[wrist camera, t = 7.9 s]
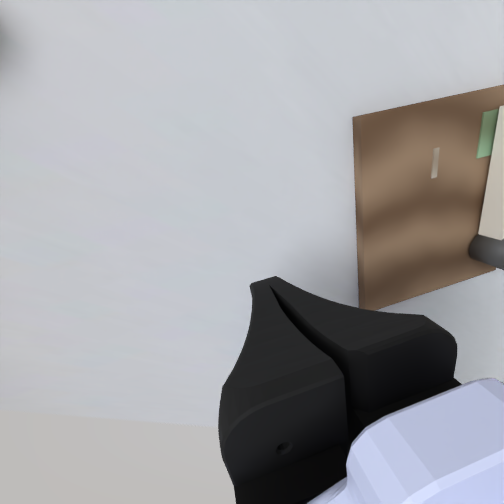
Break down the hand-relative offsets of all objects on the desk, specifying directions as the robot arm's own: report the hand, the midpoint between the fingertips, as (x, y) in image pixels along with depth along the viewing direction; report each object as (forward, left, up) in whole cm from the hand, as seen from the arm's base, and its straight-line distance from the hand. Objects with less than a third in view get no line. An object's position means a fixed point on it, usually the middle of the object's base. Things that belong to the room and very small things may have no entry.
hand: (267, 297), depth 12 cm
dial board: (-2, -19, -9) cm, 21 cm away
